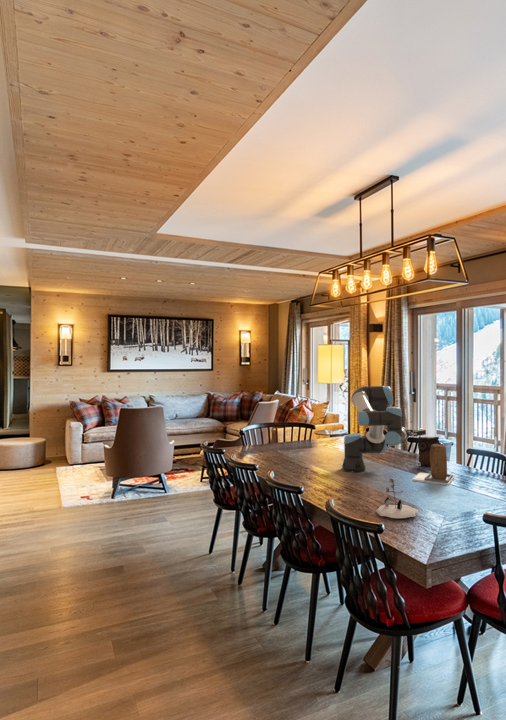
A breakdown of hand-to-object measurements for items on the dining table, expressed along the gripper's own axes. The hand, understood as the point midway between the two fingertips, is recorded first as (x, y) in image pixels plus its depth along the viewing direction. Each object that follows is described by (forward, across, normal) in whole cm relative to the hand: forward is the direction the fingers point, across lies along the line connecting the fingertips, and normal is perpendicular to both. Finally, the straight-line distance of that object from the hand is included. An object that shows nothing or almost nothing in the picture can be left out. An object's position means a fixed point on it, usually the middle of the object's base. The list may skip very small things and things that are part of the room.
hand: (410, 429), depth 253 cm
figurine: (-51, +6, -32) cm, 61 cm away
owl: (+53, -1, -32) cm, 62 cm away
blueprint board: (+18, +8, -32) cm, 37 cm away
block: (+18, +11, -31) cm, 37 cm away
